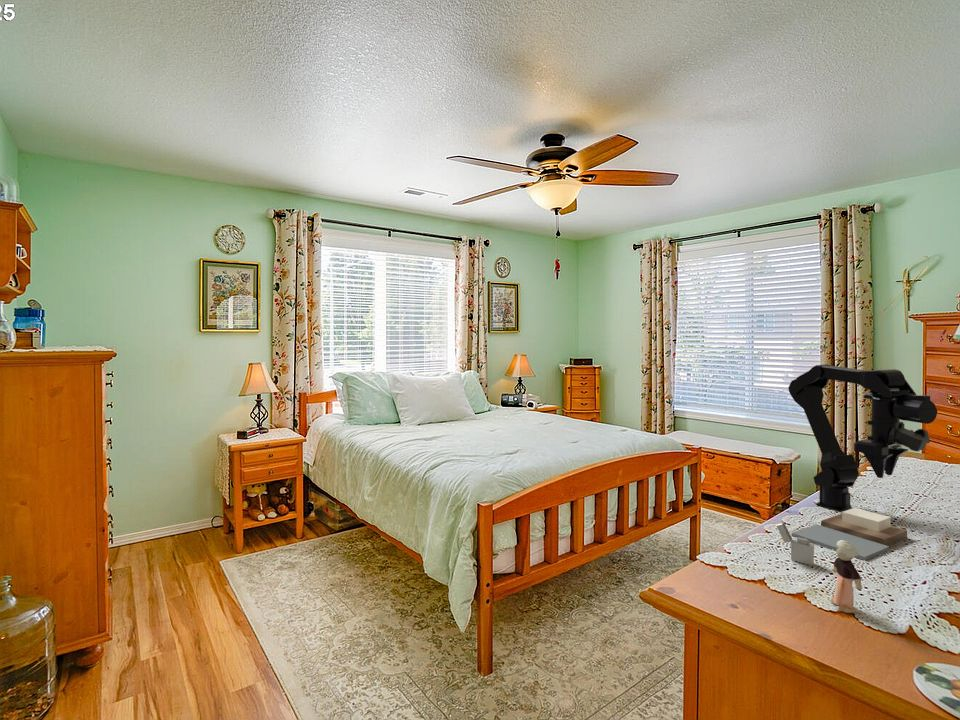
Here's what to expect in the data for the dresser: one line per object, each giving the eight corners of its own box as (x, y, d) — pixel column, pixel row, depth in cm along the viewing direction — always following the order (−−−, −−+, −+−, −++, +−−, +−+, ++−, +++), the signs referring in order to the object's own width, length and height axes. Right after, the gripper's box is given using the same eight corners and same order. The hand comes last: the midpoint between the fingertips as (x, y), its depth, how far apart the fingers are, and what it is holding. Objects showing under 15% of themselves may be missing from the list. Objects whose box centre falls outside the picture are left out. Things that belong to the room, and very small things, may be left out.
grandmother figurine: (819, 597, 95) (820, 533, 95) (838, 596, 96) (838, 532, 95) (852, 620, 88) (853, 551, 87) (872, 619, 88) (873, 549, 88)
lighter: (813, 563, 110) (814, 527, 109) (812, 565, 108) (812, 530, 108) (777, 554, 115) (777, 520, 114) (775, 556, 113) (775, 522, 113)
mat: (791, 535, 124) (791, 532, 124) (816, 527, 130) (816, 524, 130) (864, 560, 110) (864, 557, 110) (889, 549, 115) (889, 546, 115)
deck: (821, 528, 129) (821, 520, 129) (843, 520, 134) (843, 512, 134) (884, 547, 116) (884, 539, 116) (907, 538, 122) (907, 530, 121)
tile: (842, 521, 128) (842, 511, 128) (854, 517, 131) (854, 507, 131) (878, 531, 121) (878, 521, 121) (890, 526, 124) (890, 517, 124)
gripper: (905, 425, 117) (904, 490, 118) (941, 418, 126) (940, 478, 127) (852, 419, 127) (852, 479, 128) (889, 412, 136) (888, 468, 136)
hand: (884, 476), depth 129 cm, fingers open, 4 cm apart
